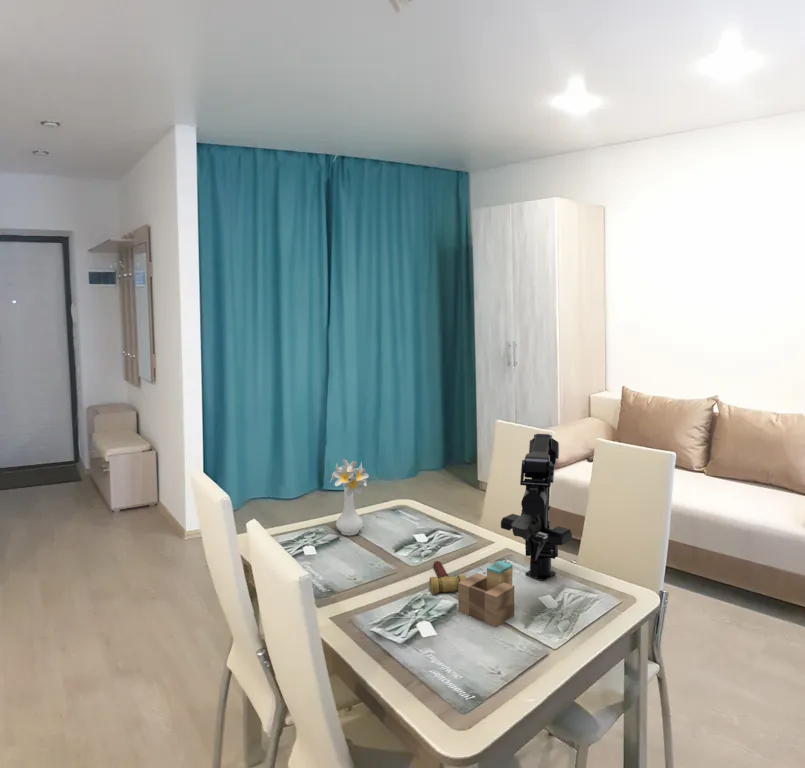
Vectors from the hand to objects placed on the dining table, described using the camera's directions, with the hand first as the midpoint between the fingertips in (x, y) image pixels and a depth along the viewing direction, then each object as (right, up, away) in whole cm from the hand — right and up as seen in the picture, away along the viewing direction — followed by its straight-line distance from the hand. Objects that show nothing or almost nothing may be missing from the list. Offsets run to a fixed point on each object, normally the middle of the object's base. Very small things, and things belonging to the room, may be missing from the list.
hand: (534, 559), depth 177 cm
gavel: (-24, -11, +17) cm, 31 cm away
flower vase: (-53, -5, +54) cm, 76 cm away
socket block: (-13, -13, -4) cm, 19 cm away
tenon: (-9, -12, 0) cm, 15 cm away
